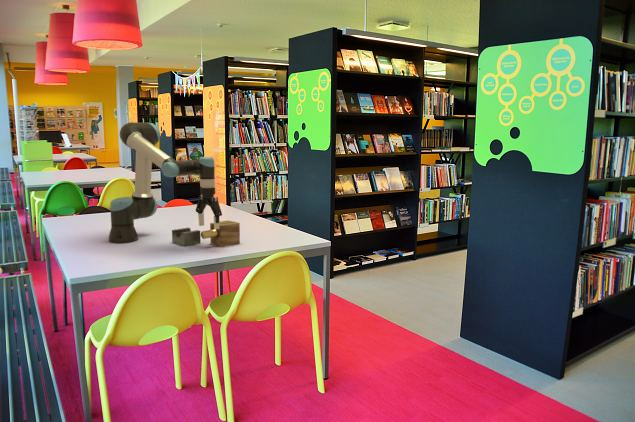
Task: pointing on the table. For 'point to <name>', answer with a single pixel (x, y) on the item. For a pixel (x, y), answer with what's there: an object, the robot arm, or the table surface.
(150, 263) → the table surface
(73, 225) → the table surface
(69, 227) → the table surface
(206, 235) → the axle
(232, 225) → the wooden cube block
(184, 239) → the v block
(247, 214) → the table surface
